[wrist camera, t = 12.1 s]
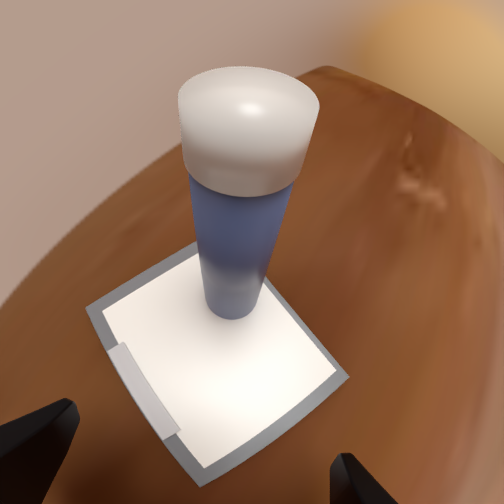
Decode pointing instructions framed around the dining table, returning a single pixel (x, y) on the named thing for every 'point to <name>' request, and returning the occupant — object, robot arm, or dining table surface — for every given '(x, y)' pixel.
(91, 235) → the dining table surface
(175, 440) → the clipboard
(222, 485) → the dining table surface
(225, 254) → the marker
